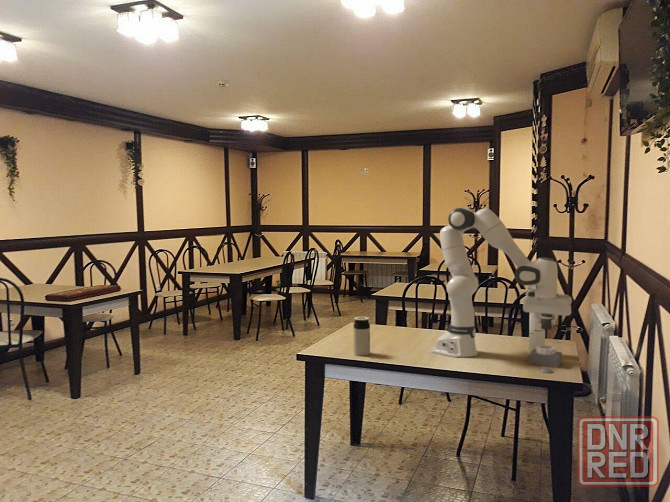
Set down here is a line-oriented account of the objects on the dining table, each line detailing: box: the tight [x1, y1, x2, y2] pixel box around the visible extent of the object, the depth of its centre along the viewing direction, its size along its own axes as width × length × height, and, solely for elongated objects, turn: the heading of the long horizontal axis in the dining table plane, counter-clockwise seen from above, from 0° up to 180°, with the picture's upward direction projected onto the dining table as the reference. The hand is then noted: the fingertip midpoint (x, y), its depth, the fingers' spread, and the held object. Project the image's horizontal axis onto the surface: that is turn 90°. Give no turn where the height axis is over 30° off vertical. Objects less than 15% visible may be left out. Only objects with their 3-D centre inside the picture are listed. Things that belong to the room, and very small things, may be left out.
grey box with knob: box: [529, 344, 563, 369], centre depth 233 cm, size 12×9×8 cm
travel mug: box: [353, 316, 371, 357], centre depth 252 cm, size 8×8×18 cm
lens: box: [541, 314, 553, 331], centre depth 232 cm, size 4×4×7 cm
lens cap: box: [539, 367, 553, 374], centre depth 221 cm, size 5×5×1 cm
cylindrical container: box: [528, 312, 546, 356], centre depth 247 cm, size 7×7×25 cm
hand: (546, 323), depth 232 cm, fingers closed on lens, 4 cm apart
